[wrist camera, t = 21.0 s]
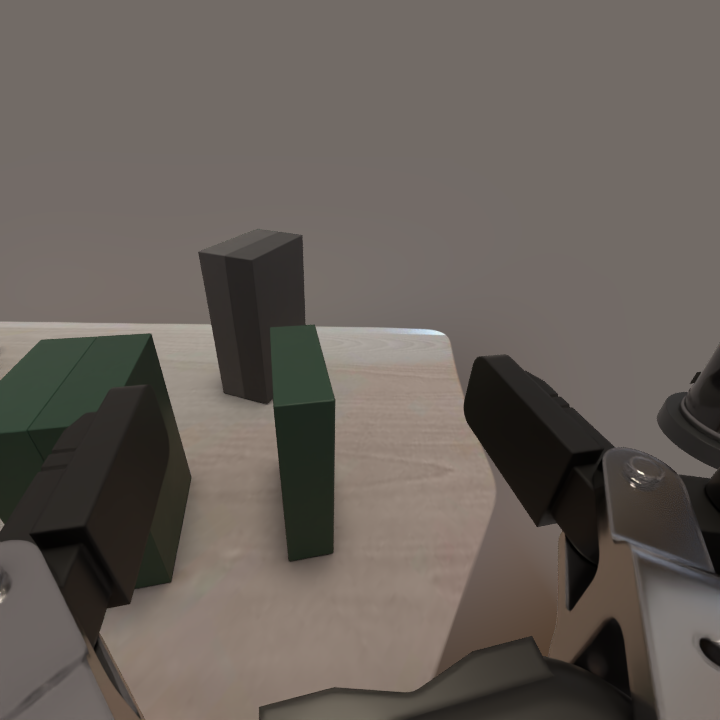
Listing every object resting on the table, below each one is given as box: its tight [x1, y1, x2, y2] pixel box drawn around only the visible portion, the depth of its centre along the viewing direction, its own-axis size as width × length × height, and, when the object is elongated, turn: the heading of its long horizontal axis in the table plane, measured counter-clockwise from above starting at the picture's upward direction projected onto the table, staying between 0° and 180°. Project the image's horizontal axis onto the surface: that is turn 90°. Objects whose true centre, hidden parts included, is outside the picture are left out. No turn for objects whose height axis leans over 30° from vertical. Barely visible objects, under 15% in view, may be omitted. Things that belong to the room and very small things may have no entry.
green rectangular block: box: [0, 334, 191, 589], centre depth 24 cm, size 6×9×14 cm
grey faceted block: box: [198, 229, 305, 404], centre depth 42 cm, size 6×10×16 cm, turn 162°
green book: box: [270, 325, 335, 561], centre depth 27 cm, size 3×9×14 cm, turn 12°
